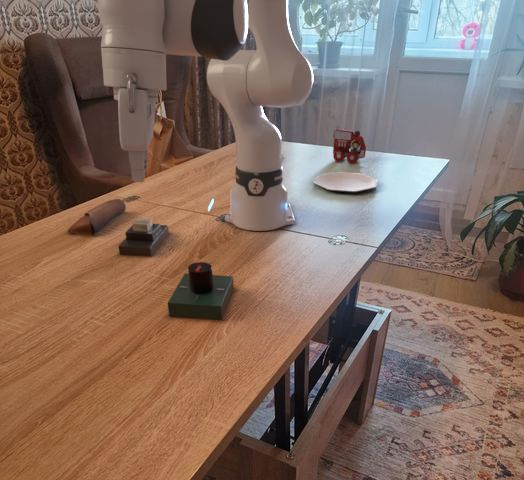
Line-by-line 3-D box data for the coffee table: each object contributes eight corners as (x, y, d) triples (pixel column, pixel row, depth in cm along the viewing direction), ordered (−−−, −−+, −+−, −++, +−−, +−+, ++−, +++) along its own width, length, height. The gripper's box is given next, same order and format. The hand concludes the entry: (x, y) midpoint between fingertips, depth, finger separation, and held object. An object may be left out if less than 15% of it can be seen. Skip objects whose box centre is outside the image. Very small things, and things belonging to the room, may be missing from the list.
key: (138, 226, 116) (137, 218, 115) (153, 227, 116) (151, 218, 115) (133, 232, 114) (132, 223, 112) (148, 232, 113) (146, 224, 112)
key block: (140, 232, 123) (137, 217, 121) (169, 233, 122) (167, 218, 120) (119, 255, 112) (116, 238, 109) (151, 256, 111) (149, 240, 109)
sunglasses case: (98, 208, 136) (106, 188, 132) (120, 222, 137) (128, 203, 133) (65, 232, 122) (72, 211, 118) (89, 247, 123) (97, 227, 119)
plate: (374, 197, 144) (374, 192, 144) (309, 192, 149) (309, 187, 148) (378, 179, 160) (379, 174, 159) (320, 174, 164) (320, 170, 163)
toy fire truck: (361, 164, 174) (364, 133, 168) (328, 161, 179) (331, 130, 173) (366, 160, 180) (369, 130, 174) (334, 156, 184) (336, 127, 178)
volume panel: (186, 286, 99) (184, 272, 97) (233, 289, 98) (233, 275, 96) (169, 316, 89) (167, 301, 88) (222, 320, 88) (221, 305, 87)
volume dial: (193, 282, 94) (191, 259, 91) (215, 283, 94) (214, 261, 91) (187, 293, 90) (185, 270, 88) (210, 294, 90) (208, 271, 87)
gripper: (155, 74, 60) (159, 189, 67) (159, 78, 78) (162, 168, 85) (103, 70, 59) (112, 187, 66) (119, 75, 77) (125, 166, 84)
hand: (140, 176), depth 75 cm, fingers open, 8 cm apart
